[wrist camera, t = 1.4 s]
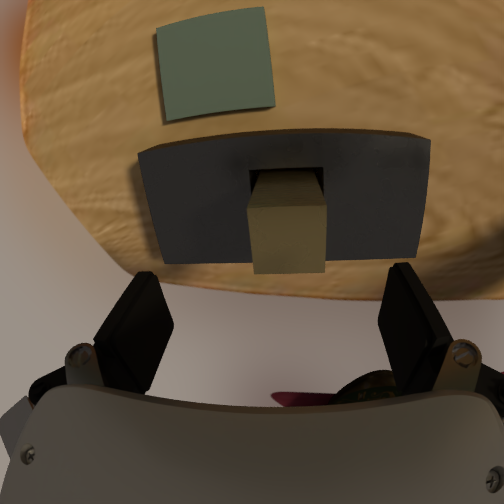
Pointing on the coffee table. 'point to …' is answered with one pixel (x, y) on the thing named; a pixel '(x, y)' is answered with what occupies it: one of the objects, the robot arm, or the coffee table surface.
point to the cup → (368, 388)
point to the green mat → (216, 63)
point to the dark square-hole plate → (288, 156)
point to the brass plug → (287, 222)
